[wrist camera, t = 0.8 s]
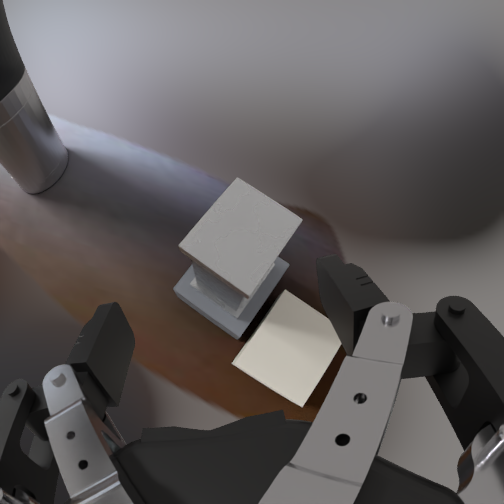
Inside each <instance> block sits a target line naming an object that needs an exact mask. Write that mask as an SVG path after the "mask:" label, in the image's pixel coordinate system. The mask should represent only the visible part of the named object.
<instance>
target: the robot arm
mask: <svg viewBox="0 0 504 504" xmlns="http://www.w3.org/2000/svg"><path fill="white" fill-rule="evenodd" d="M67 162H68V153H67V150H66V148H65V147H64V145H63V143H62V141H61V139H60V137H59V136H58V133H57V132H56V130H55V128H54V126H53V124H52V122H51V120H50V118H49V116H48V114H47V112H46V110H45V108H44V106H43V105H42V102H41V100H40V98H39V96H38V94H37V92H36V90H35V88H34V86H33V83H32V82H31V79H30V77H29V75H28V73H27V70H26V68H25V66H24V64H23V61H22V59H21V57H20V54H19V52H18V49H17V47H16V44H15V42H14V39H13V36H12V34H11V31H10V27H9V24H8V21H7V17H6V13H5V9H4V5H3V0H0V163H1V164H2V166H3V167H4V168H5V169H6V170H7V172H8V173H9V174H10V175H11V176H12V178H13V179H14V180H15V181H16V182H17V183H18V184H19V186H20V187H21V188H22V189H23V190H24V191H25V192H27V193H31V194H34V193H39V192H42V191H44V190H46V189H48V188H49V187H51V186H52V185H53V184H54V183H55V182H56V181H57V180H58V179H59V178H60V177H61V175H62V174H63V172H64V170H65V168H66V166H67ZM316 264H317V274H318V284H319V294H320V299H321V303H322V306H323V308H324V310H325V312H326V314H327V316H328V318H329V320H330V322H331V324H332V326H333V328H334V330H335V331H336V333H337V335H338V337H339V339H340V341H341V343H342V345H343V347H344V349H345V351H346V353H347V356H346V357H345V359H344V361H343V363H342V365H341V367H340V370H339V372H338V374H337V376H336V378H335V380H334V382H333V384H332V387H331V389H330V391H329V393H328V395H327V397H326V399H325V401H324V403H323V405H322V407H321V409H320V411H319V413H318V414H317V416H316V418H315V420H314V422H308V421H303V420H285V416H284V412H283V410H280V411H275V412H270V413H266V414H260V415H255V416H250V417H245V418H243V419H240V420H238V421H235V422H233V423H230V424H227V425H224V426H222V427H219V428H216V429H213V430H197V429H188V428H181V427H161V428H143V430H142V437H141V439H139V440H136V441H134V442H131V443H129V444H127V445H126V443H125V442H124V440H123V438H122V437H121V435H120V434H119V432H118V430H117V429H116V427H115V425H114V423H113V422H112V420H111V418H110V417H109V415H108V414H107V413H106V412H105V411H106V407H115V406H116V407H117V406H119V402H120V398H121V394H122V390H123V387H124V383H125V379H126V375H127V372H128V367H129V364H130V361H131V357H132V354H133V350H134V347H135V338H134V334H133V331H132V329H131V327H130V325H129V323H128V321H127V319H126V317H125V315H124V313H123V311H122V309H121V307H120V305H119V304H118V303H117V302H113V303H108V304H103V305H99V306H98V308H97V310H96V312H95V314H94V316H93V318H92V319H91V320H90V321H89V322H88V323H87V324H86V325H85V326H84V327H83V329H82V331H81V333H80V337H78V339H77V341H76V344H75V345H74V347H73V349H72V351H71V353H70V355H69V357H68V359H67V361H66V364H65V365H59V366H57V367H55V368H53V369H52V370H50V371H49V373H47V375H46V376H45V378H44V380H43V385H40V386H37V387H34V388H31V387H30V386H29V384H28V383H27V382H26V381H25V380H24V379H17V380H15V381H13V382H12V383H10V384H9V385H8V386H7V387H6V389H5V391H4V392H3V395H2V397H1V399H0V504H54V497H55V492H56V486H57V480H58V475H59V470H60V472H61V475H62V478H63V480H64V482H65V485H66V487H67V490H68V492H69V494H70V498H69V499H68V500H67V501H66V502H65V503H64V504H504V337H503V336H502V335H501V334H500V332H499V331H498V330H497V329H496V328H495V327H494V326H493V325H492V323H490V321H489V320H488V319H487V318H486V317H485V316H484V315H483V314H482V313H481V312H480V311H479V310H478V308H477V307H476V306H475V305H474V304H473V303H472V302H471V301H469V300H468V299H466V298H463V297H459V296H449V297H445V298H443V299H441V300H440V301H439V302H438V304H437V307H436V312H428V313H412V312H411V310H410V309H409V308H408V307H407V306H405V305H403V304H401V303H398V302H390V301H389V300H388V299H387V297H386V296H385V295H384V294H383V292H382V291H381V290H380V289H379V288H378V287H377V285H376V284H375V283H373V281H372V280H371V278H370V277H368V275H367V274H366V272H365V271H364V270H363V269H362V268H360V267H358V266H356V265H354V264H352V263H350V264H346V265H345V264H344V263H343V262H342V261H341V260H340V258H339V257H338V256H337V255H336V254H333V255H329V256H325V257H321V258H317V260H316ZM423 376H425V377H426V379H427V381H428V382H429V384H430V386H431V388H432V390H433V392H434V393H435V395H436V397H437V399H438V401H439V402H440V404H441V406H442V408H443V410H444V412H445V414H446V415H447V417H448V419H449V421H450V423H451V425H452V427H453V429H454V431H455V433H456V435H457V437H458V439H459V441H460V443H461V445H462V447H463V449H464V452H463V453H462V455H461V456H460V458H459V461H458V465H457V471H458V476H459V487H458V490H457V493H455V492H454V491H452V490H451V489H449V488H447V487H445V486H443V485H440V484H438V483H435V482H433V481H431V480H428V479H426V478H424V477H421V476H419V475H417V474H415V473H413V472H410V471H408V470H406V469H404V468H402V467H400V466H398V465H396V464H394V463H392V462H390V461H388V460H386V459H384V458H382V457H380V456H378V452H379V450H380V447H381V444H382V441H383V438H384V435H385V433H386V429H387V426H388V423H389V420H390V417H391V413H392V410H393V407H394V404H395V400H396V396H397V393H398V389H399V386H400V382H401V379H405V378H415V377H423ZM25 425H26V426H27V427H28V428H29V429H30V430H31V431H32V432H33V433H34V434H35V436H34V439H33V442H32V446H31V449H30V452H29V456H27V455H25V454H24V453H23V451H22V450H21V448H20V438H21V435H22V432H23V429H24V426H25Z"/></svg>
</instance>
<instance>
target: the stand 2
mask: <svg viewBox="0 0 504 504" xmlns="http://www.w3.org/2000/svg"><path fill="white" fill-rule="evenodd" d="M341 344H342V343H341V341H340V339H339V337H338V335H337V333H336V331H335V330H334V328H333V326H332V324H331V322H330V320H329V319H328V318H327V317H325V316H324V315H322V314H321V313H319V312H318V311H316V310H315V309H313V308H312V307H310V306H309V305H307V304H306V303H304V302H303V301H302V300H300V299H299V298H297V297H296V296H294V295H293V294H291V293H290V292H288V291H287V290H284V291H283V292H282V293H281V294H280V295H279V296H278V297H277V299H276V300H275V302H274V303H273V304H272V306H271V307H270V309H269V310H268V312H267V313H266V315H265V316H264V318H263V319H262V321H261V322H260V324H259V325H258V326H257V328H256V329H255V331H254V332H253V334H252V335H251V337H250V338H249V339H248V341H247V342H246V344H245V345H244V347H243V348H242V349H241V351H240V352H239V354H238V355H237V357H236V358H235V359H234V361H233V362H232V364H233V365H234V366H236V367H237V368H239V369H240V370H242V371H243V372H245V373H247V374H248V375H250V376H251V377H253V378H254V379H256V380H257V381H259V382H260V383H262V384H264V385H265V386H267V387H268V388H270V389H272V390H273V391H275V392H276V393H278V394H280V395H281V396H283V397H285V398H286V399H288V400H290V401H291V402H293V403H295V404H297V405H299V406H301V407H303V405H304V404H305V402H306V401H307V399H308V398H309V396H310V395H311V393H312V392H313V390H314V388H315V387H316V385H317V384H318V382H319V381H320V379H321V377H322V376H323V374H324V372H325V371H326V369H327V368H328V366H329V364H330V363H331V361H332V359H333V358H334V356H335V354H336V352H337V351H338V349H339V347H340V345H341Z"/></svg>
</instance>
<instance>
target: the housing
mask: <svg viewBox="0 0 504 504" xmlns="http://www.w3.org/2000/svg"><path fill="white" fill-rule="evenodd" d="M302 220H303V219H301V218H300V217H298V216H297V215H295V214H294V213H292V212H291V211H289V210H288V209H286V208H285V207H283V206H282V205H280V204H279V203H277V202H275V201H274V200H272V199H271V198H269V197H268V196H266V195H265V194H263V193H261V192H260V191H258V190H257V189H255V188H254V187H252V186H251V185H249V184H247V183H246V182H244V181H243V180H241V179H239V178H236V179H235V180H234V182H233V183H232V184H231V185H230V186H229V187H228V188H227V189H226V190H225V192H224V193H223V194H222V195H221V196H220V197H219V198H218V200H217V201H216V202H215V203H214V204H213V205H212V206H211V208H210V209H209V210H208V211H207V212H206V213H205V215H204V216H203V217H202V218H201V219H200V220H199V222H198V223H197V224H196V225H195V226H194V227H193V229H192V230H191V231H190V232H189V233H188V235H187V236H186V237H185V238H184V239H183V241H182V242H181V243H180V244H179V245H178V246H179V249H180V251H181V252H182V253H183V254H185V255H186V256H188V257H189V258H190V259H191V260H192V265H193V269H194V274H195V278H194V279H193V280H192V282H191V283H190V286H191V287H192V288H194V289H195V290H196V291H198V292H199V293H201V294H202V295H203V296H205V297H206V298H207V299H209V300H210V301H212V302H213V303H214V304H216V305H217V306H219V307H220V308H221V309H223V310H224V311H226V312H227V313H228V314H230V315H231V316H233V317H234V318H236V319H237V318H238V317H239V315H240V314H241V313H242V311H243V310H244V308H245V307H246V306H247V304H248V303H249V301H250V300H251V298H252V297H253V296H254V294H255V293H256V291H257V290H258V288H259V287H260V286H261V284H262V283H263V281H264V280H265V278H266V277H267V276H268V274H269V273H270V271H271V270H272V268H273V267H274V265H275V264H274V261H275V260H276V258H277V257H278V256H279V254H280V253H281V251H282V250H283V248H284V247H285V245H286V244H287V243H288V241H289V240H290V238H291V237H292V235H293V234H294V232H295V231H296V229H297V228H298V226H299V225H300V223H301V222H302Z"/></svg>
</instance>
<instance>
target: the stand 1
mask: <svg viewBox="0 0 504 504" xmlns="http://www.w3.org/2000/svg"><path fill="white" fill-rule="evenodd" d="M274 264H275V265H274V267H273V268H272V270H271V271H270V273H269V274H268V276H267V277H266V278H265V280H264V281H263V283H262V284H261V286H260V287H259V288H258V290H257V291H256V293H255V294H254V296H253V297H252V298H251V300H250V301H249V303H248V304H247V306H246V307H245V308H244V310H243V311H242V313H241V314H240V315H239V317H238V318H237V319H236V318H234V317H233V316H231V315H230V314H228V313H227V312H226V311H224V310H223V309H221V308H220V307H219V306H217V305H216V304H214V303H213V302H212V301H210V300H209V299H207V298H206V297H205V296H203V295H202V294H201V293H199V292H198V291H196V290H195V289H194V288H192V287H191V286H190V283H191V282H192V280H193V279H194V278H195V274H194V269H193V265H191V266H190V268H189V269H188V270H187V271H186V273H185V274H184V275H183V277H182V278H181V279H180V280H179V282H178V283H177V284H176V286H175V287H174V288H173V289H174V291H175V293H176V295H177V296H178V297H179V298H180V299H181V300H183V301H184V302H185V303H187V304H188V305H189V306H191V307H192V308H193V309H195V310H196V311H197V312H199V313H200V314H201V315H203V316H204V317H206V318H207V319H208V320H210V321H211V322H213V323H214V324H215V325H217V326H218V327H220V328H221V329H222V330H224V331H225V332H227V333H228V334H230V335H231V336H232V337H234V338H235V339H239V338H240V337H241V335H242V334H243V332H244V331H245V329H246V328H247V327H248V325H249V324H250V322H251V321H252V319H253V318H254V317H255V315H256V314H257V312H258V311H259V309H260V308H261V306H262V305H263V304H264V302H265V301H266V299H267V298H268V296H269V295H270V293H271V292H272V290H273V289H274V287H275V286H276V284H277V283H278V282H279V280H280V279H281V277H282V276H283V274H284V273H285V271H286V270H287V268H288V267H289V265H290V264H288V263H287V262H285V261H284V260H282V259H281V258H280V257H277V258H276V260H275V261H274Z"/></svg>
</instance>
